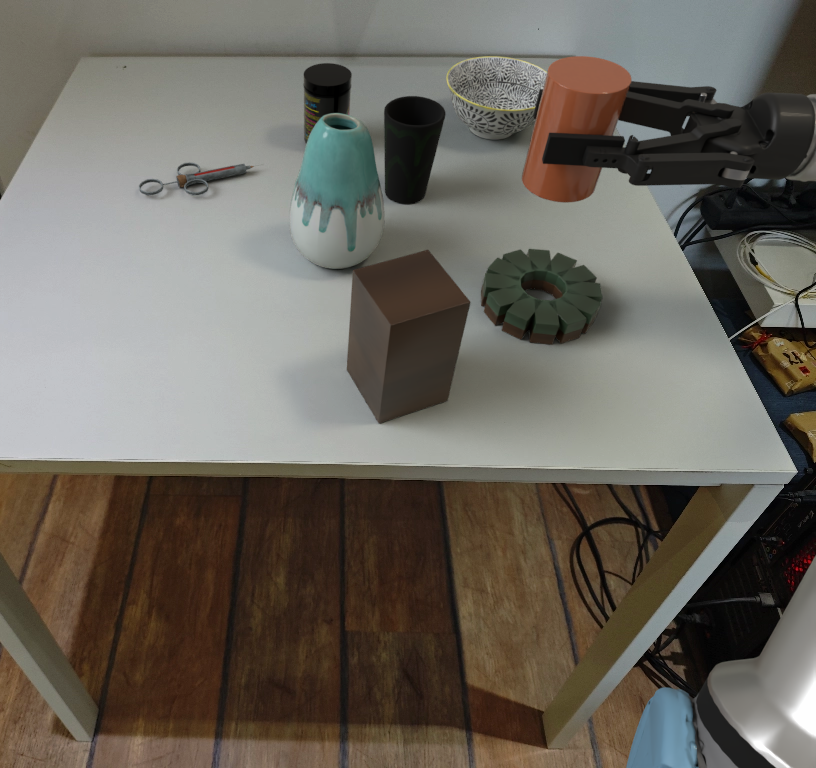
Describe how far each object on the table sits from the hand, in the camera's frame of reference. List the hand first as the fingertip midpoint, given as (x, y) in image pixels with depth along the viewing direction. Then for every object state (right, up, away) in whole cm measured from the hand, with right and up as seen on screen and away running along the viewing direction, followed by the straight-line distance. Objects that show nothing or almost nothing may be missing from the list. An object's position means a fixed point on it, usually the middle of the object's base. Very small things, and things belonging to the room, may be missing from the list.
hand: (541, 125), depth 68 cm
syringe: (-37, +4, +33) cm, 50 cm away
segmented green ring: (+5, -15, +17) cm, 23 cm away
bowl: (+6, +15, +43) cm, 45 cm away
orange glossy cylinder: (+3, -4, +4) cm, 7 cm away
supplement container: (-19, +12, +40) cm, 46 cm away
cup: (-9, +2, +32) cm, 33 cm away
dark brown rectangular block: (-13, -25, +8) cm, 29 cm away
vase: (-19, -8, +23) cm, 31 cm away
